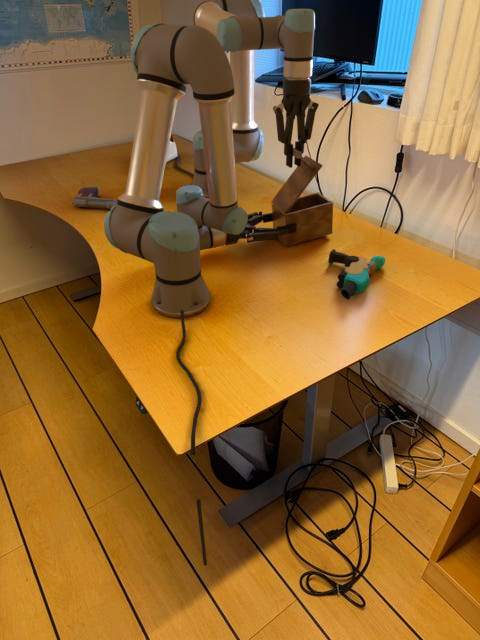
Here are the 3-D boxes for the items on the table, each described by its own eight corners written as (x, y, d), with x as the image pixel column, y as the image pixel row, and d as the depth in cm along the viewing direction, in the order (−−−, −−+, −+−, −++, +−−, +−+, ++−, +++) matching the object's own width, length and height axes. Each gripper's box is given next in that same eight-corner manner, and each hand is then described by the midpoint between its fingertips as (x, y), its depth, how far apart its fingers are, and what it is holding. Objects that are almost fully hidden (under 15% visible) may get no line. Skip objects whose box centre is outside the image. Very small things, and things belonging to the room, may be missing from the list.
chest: (317, 222, 162) (318, 192, 155) (332, 233, 155) (333, 202, 148) (273, 234, 158) (271, 204, 151) (286, 246, 151) (285, 215, 144)
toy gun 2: (307, 279, 125) (363, 294, 119) (338, 241, 143) (388, 251, 138) (306, 294, 127) (360, 308, 122) (336, 254, 146) (385, 265, 140)
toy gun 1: (130, 197, 185) (114, 212, 174) (86, 194, 188) (67, 209, 177) (128, 187, 183) (112, 202, 171) (84, 184, 186) (65, 199, 174)
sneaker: (133, 173, 208) (129, 144, 201) (161, 153, 230) (158, 127, 223) (155, 175, 205) (151, 146, 198) (180, 155, 227) (178, 129, 220)
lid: (307, 156, 147) (288, 139, 141) (322, 165, 139) (303, 148, 134) (272, 203, 151) (253, 189, 146) (285, 214, 144) (266, 199, 138)
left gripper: (211, 230, 155) (273, 219, 162) (236, 260, 139) (304, 246, 145) (210, 208, 151) (274, 198, 158) (235, 237, 134) (306, 224, 141)
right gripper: (315, 73, 132) (309, 158, 146) (265, 78, 128) (264, 165, 142) (329, 77, 127) (321, 165, 140) (277, 82, 122) (275, 173, 136)
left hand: (288, 221), depth 151 cm, fingers closed on chest, 9 cm apart
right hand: (293, 165), depth 141 cm, fingers closed on lid, 2 cm apart
